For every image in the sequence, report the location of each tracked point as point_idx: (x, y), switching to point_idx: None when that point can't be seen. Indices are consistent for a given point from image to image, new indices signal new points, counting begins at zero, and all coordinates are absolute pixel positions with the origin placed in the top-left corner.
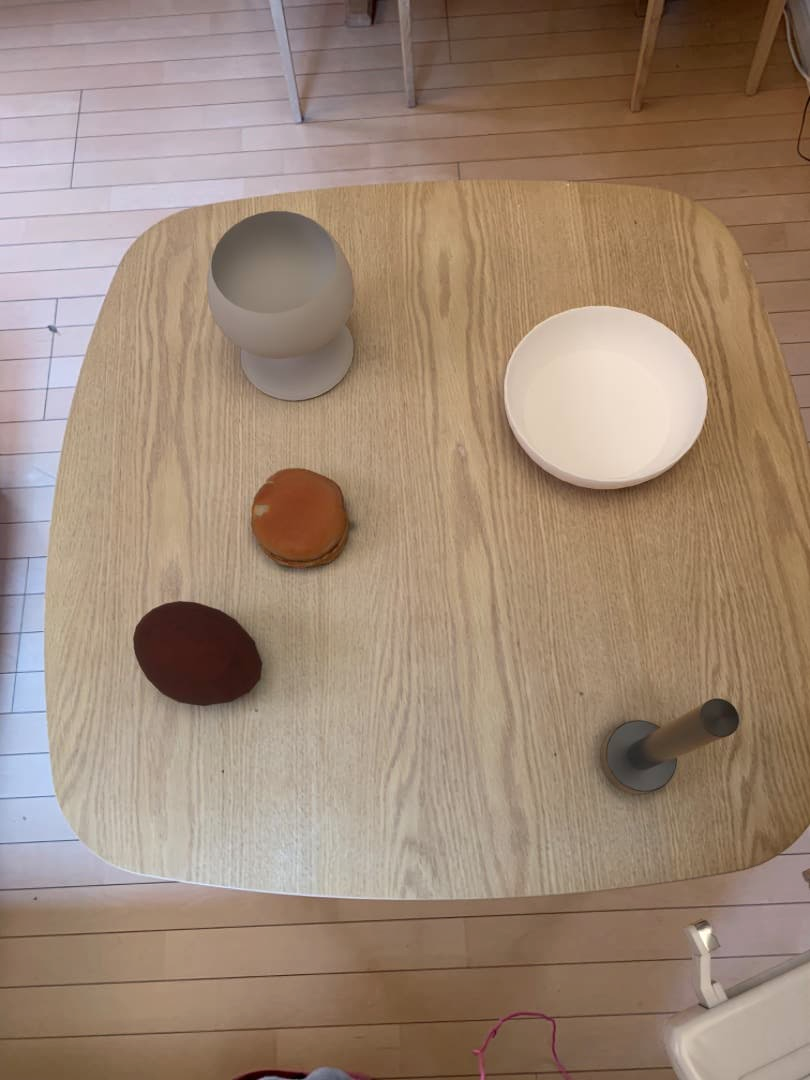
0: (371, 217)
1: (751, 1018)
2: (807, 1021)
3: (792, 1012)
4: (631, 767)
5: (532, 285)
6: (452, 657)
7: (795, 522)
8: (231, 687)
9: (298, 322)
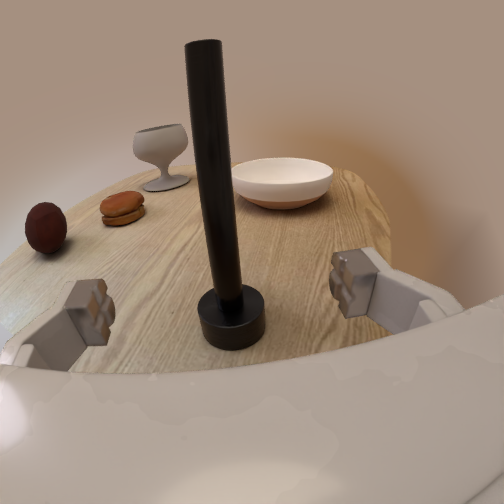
0: None
1: (3, 404)
2: None
3: (101, 461)
4: (216, 309)
5: None
6: (146, 259)
7: (386, 233)
8: (40, 229)
9: (153, 135)
